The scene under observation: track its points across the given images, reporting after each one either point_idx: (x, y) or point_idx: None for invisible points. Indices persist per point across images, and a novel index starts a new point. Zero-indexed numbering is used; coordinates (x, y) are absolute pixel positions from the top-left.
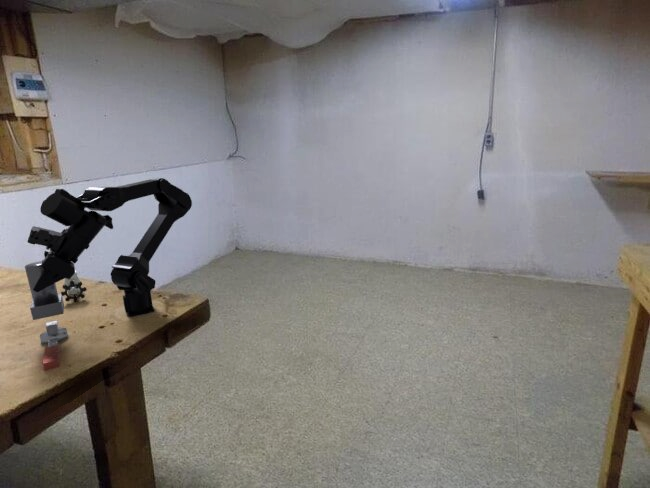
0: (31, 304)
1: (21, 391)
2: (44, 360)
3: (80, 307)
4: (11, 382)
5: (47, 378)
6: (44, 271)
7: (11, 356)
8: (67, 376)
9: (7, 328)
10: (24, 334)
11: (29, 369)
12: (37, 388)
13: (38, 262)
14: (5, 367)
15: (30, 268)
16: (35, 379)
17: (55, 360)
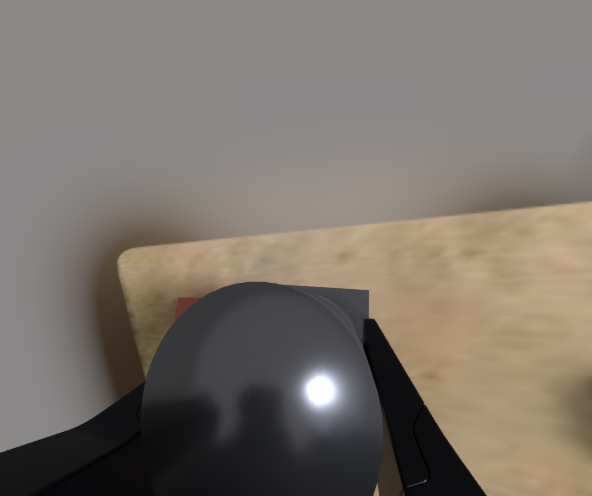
0: (306, 287)
1: (148, 265)
2: (190, 300)
3: (570, 426)
4: (185, 250)
5: (158, 301)
6: (88, 426)
7: (289, 241)
8: (142, 331)
9: (479, 217)
10: (403, 258)
11: (210, 274)
12: (140, 287)
13: (330, 428)
14: (247, 236)
15: (174, 329)
16: (169, 284)
17: (175, 319)
